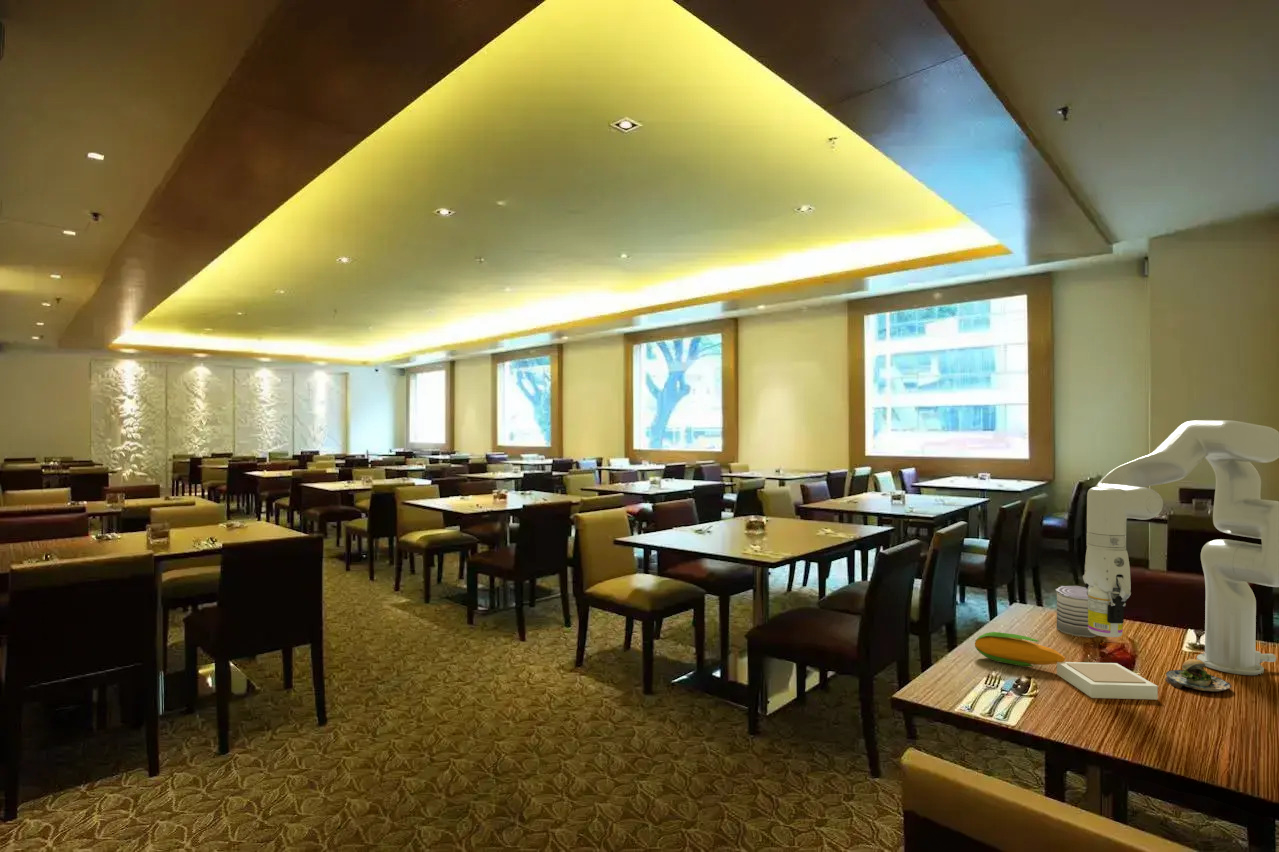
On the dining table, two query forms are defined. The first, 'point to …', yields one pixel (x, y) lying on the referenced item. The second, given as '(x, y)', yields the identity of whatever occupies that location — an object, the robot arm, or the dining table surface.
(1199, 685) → the burger
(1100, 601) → the supplement bottle
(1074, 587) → the can
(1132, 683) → the base
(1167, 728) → the dining table surface
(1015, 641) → the corn
